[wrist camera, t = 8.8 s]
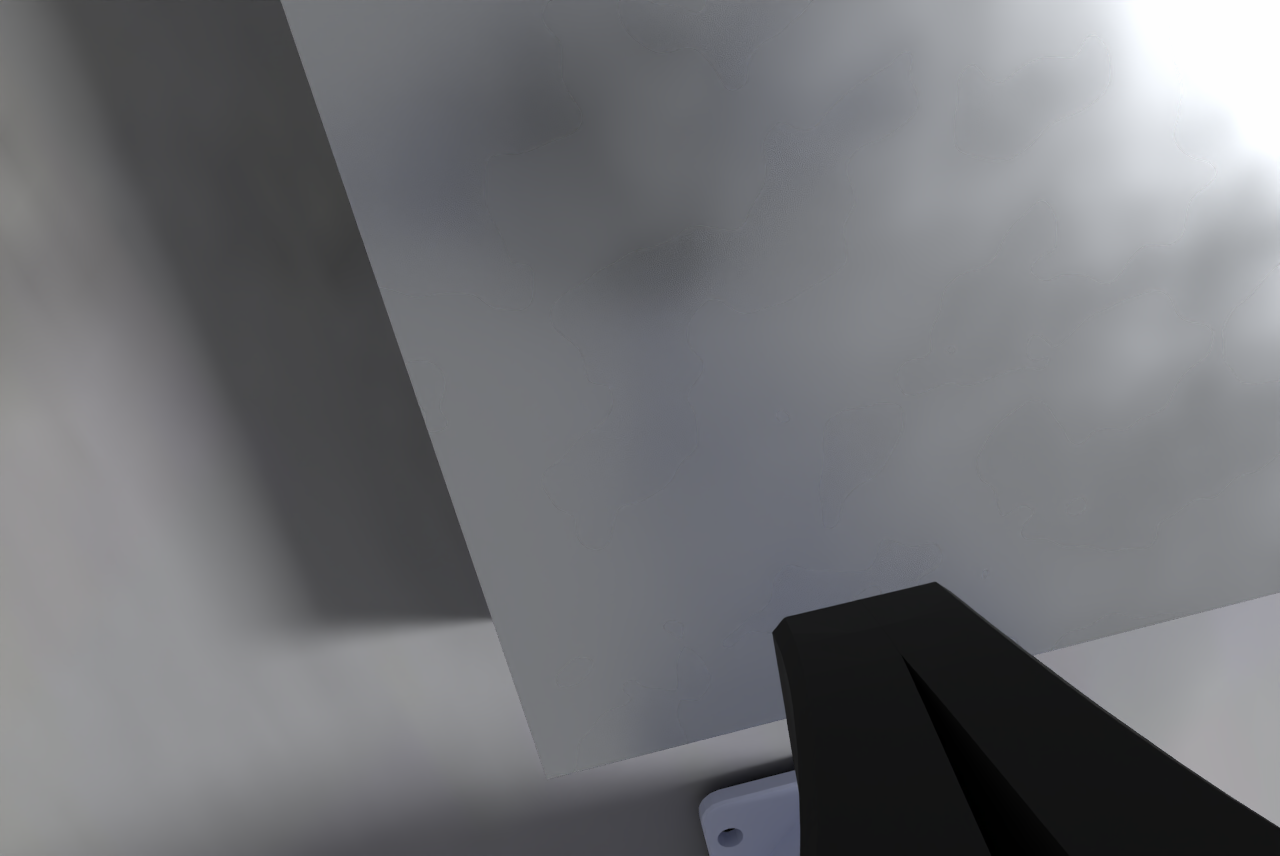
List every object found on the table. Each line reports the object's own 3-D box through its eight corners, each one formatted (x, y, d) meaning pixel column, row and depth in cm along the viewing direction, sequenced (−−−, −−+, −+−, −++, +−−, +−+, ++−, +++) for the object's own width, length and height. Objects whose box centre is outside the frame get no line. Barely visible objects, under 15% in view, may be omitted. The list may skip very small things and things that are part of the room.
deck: (1278, 430, 21) (1445, 550, 17) (534, 617, 20) (547, 779, 17) (1384, -1007, 12) (1760, -1359, 9) (107, -719, 12) (-48, -960, 8)
